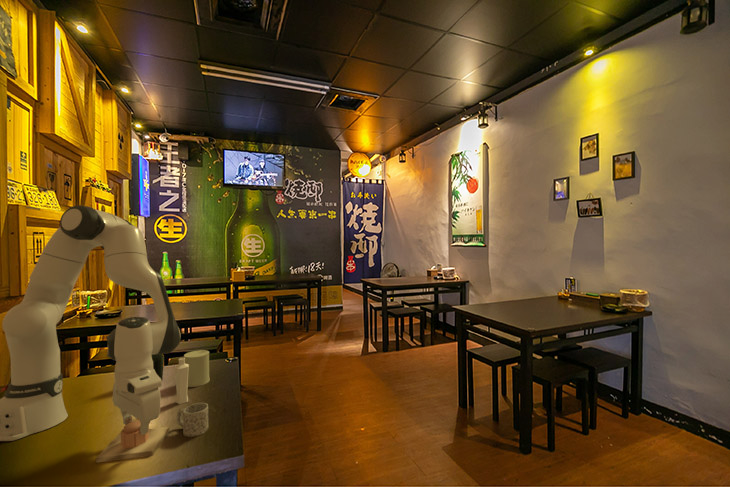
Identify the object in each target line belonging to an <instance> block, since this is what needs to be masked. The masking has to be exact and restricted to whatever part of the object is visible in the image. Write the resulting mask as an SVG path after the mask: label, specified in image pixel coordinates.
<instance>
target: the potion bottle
mask: <svg viewBox="0 0 730 487" xmlns="http://www.w3.org/2000/svg"><path fill="white" fill-rule="evenodd" d="M152 360H153V369H154V370H155V372H156V374H157V375H158V376H159V377H160V378H161V381H163V377H164V376H163V375H164V367H165V366H164V364H165V355H164V354H154V355H152Z"/></svg>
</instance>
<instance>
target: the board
mask: <svg viewBox="0 0 730 487" xmlns="http://www.w3.org/2000/svg"><path fill="white" fill-rule="evenodd" d="M170 430H171V428H170V426H165V427H164V426H162V427H156V428H149V438H148V440H147V441H146V442H145V443H143V444H141V445H139V446H136V447H132V448H123V447H122V446H121V431H120V432H119V433H118V434H117V435H115V436H116V437H114V438H113V440H112V441H111V442H109V444H108V445H107V446H106V447H105V448H104V449H103V450H102V451H101V452H100V453H99V454H98V455H97V456H96V457H95V463H97V464H98V463H105V462H111V461H119V460H128V459H135V458H143V457H151V456H153V455H154V454H155V453H156V451H157V450H158V449H159V447H160V446H161V444H162V443H163V441H164V440H165V438H166V436H168V434H169V433H170Z"/></svg>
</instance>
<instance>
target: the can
mask: <svg viewBox="0 0 730 487" xmlns="http://www.w3.org/2000/svg"><path fill="white" fill-rule="evenodd" d="M183 358H185V364H189V368H188V388H195V387H200V386H204V385H206V384H208V383H209V382H210V381H211V379H210V351H209V350H206V349H205V350H204V349H200V350H193V351H188V352H186V353H185V354H184V355H183Z"/></svg>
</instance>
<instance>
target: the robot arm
mask: <svg viewBox="0 0 730 487" xmlns="http://www.w3.org/2000/svg"><path fill="white" fill-rule="evenodd" d="M146 246H147V245H146V242H145V238H144V235H143V231H141V229H140V228H138V226H135V225H133V224H132V223H131V222H130V221H128V220H126V219H124V218H122V217H120V216H118V215H115V214H113V213H111V212H105V211H102V210H100V209H96V208H94V207H92V206H91V207H90V206H87V205H86V206H85V205H73V206H71V207H69V208H67V209H66V210H65V211H64V212H63V213H62V215H61V217H60V219H59V226H58V228H57V229H56V230H55V232H54V233H53V234H52V236H50V239H49V240H48V241H47V243H46V245H45V246H44V248H43V250H42V252H41V254H40V255H39V258H38V259H37V262H36V263H35V265H34V268H33V270H32V271H31V274H30V275H29V281H28V285H27V288H26V290H25V294H24V296H23V299H22V300H21V302H20V303H19V304H17V305H14V306H13V307H11V308H10V309H9V310H8V311H7V312H6V314H5V316H4V317H3V320H2V323H1V324H2V326H1V327H2V330H3V332H4V333H5V340H6V345H7V348H8V352H9V356H10V380H11V381H10V383H8V384H6V385H5V386H3V387H1V388H0V390H1V391H0V393H2V392H5V393H4V394H3V397H1V398H0V442H12V441H17V440H19V439H21V438H24V437H27V436H29V435H32V434H35V433H38V432H39V433H40V432H43V431H45V430H47V429H50V428H53V427H55V426H57V425H59V424H61V423H62V422H64V421H65V420H67V418H68V417H69V414H68V411H67V409H66V407H65V406H66V405H65V404H64V397H63V388H64V387H63V386H64V384H63V383H64V382H63V381H64V380H63V373H62V372H61V349H60V346H59V342H58V334H57V324H58V323H59V322H60V321H61V320H62V317H63V315H64V314H65V311H66V308H67V307H68V304H69V301H70V298H71V296H72V293H73V291H74V287H75V286H76V283H77V281H78V279H79V277H80V274H81V272H82V270H83V268H84V266H85V264H86V261H87V259H88V257H89V255H90V252H91V251H92V250H93V249H95V248H97V247H100V248H101V249H102V250H103V251H104V252H103V253H104V254H103V255H104V256H103V257H104V258H103V259H104V260H103V261H104V270H105V274H106V277H107V278H108V279H109V280H110V281H111V282H113V283H114V284H115V285H118V286H120V287H124V288H127V289H132V290H137V291H140V292H142V293H145V294H147V295H148V296H150V297H151V299H152V302H153V305H154V309H155V313H156V316H157V319H158V320H156V321H154V322H151V321H150V319H149V318H147V317H143V316H131V317H130V316H129V317H126V318H124V319H120V320H119V321H118V322H117V324H116V328H114V329H113V330H112V331H111V332H110V333H109V334H108V335H107V336H106V342H107V352H106V353H107V354H106V357H108V358H109V359H111V360H113V361H116V362H115V366H114V382H113V387H112V388H113V389H112V403H113V405H114V406H115V407H117V408H118V409H120V414H121V417H122V424H123V425H124V426H125V425H127V424H128V423H131V422H133V417H134V418H135V419H136V420H140V423H141V425H140V427H139V434H141V435H144V434H146V433H148V426H149V427H150V423H151V421H154V420H156V419H157V418H159V416H160V414H161V400H162V399H161V390H160V388H161V387H162V385H163V384H162V383H163V382H162V381H163V380H162V381H161V378H160V377H159V376H158V375H157V374H156V372H155V370H154V369H153V360H152V355H154V354H163V355H164V354H165V355H166V354H171V353H172V352H173V351H174V350H175V349H176V348H177V347H178V346H179V345H180V343H181V329H180V328H179V326H178V323H177V320H176V318H175V315H174V311H173V308H172V305H171V302H170V299H169V295H168V292H167V288H166V286H165V282H164V280H163V277H162V275H161V274H160V273H159V272H158V271H155V270H154V269H153V268H152V267H151V266H150V263H149V261H148V254H147V247H146Z"/></svg>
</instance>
